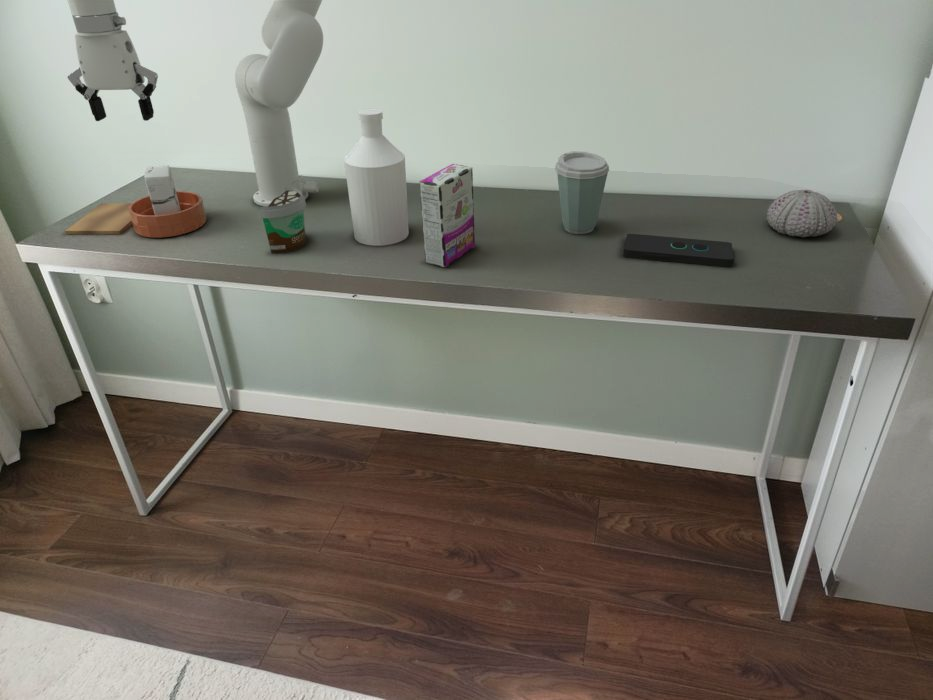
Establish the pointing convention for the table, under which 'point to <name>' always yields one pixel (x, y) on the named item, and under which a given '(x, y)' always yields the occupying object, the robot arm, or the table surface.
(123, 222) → the wooden board
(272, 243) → the food container
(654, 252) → the smart home device
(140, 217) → the bowl
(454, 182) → the candy bar box
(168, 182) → the ink box
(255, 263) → the table surface
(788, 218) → the sea urchin shell
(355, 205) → the bottle
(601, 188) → the disposable coffee cup
